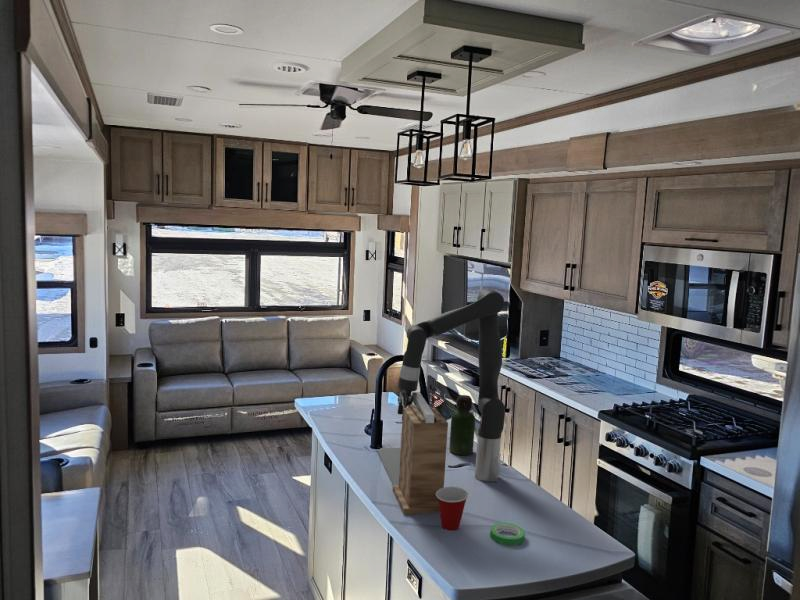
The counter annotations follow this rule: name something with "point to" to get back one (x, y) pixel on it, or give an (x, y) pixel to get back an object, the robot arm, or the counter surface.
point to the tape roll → (507, 539)
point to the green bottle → (462, 427)
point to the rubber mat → (391, 462)
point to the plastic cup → (451, 506)
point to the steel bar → (423, 407)
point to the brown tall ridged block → (421, 462)
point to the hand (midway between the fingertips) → (402, 417)
